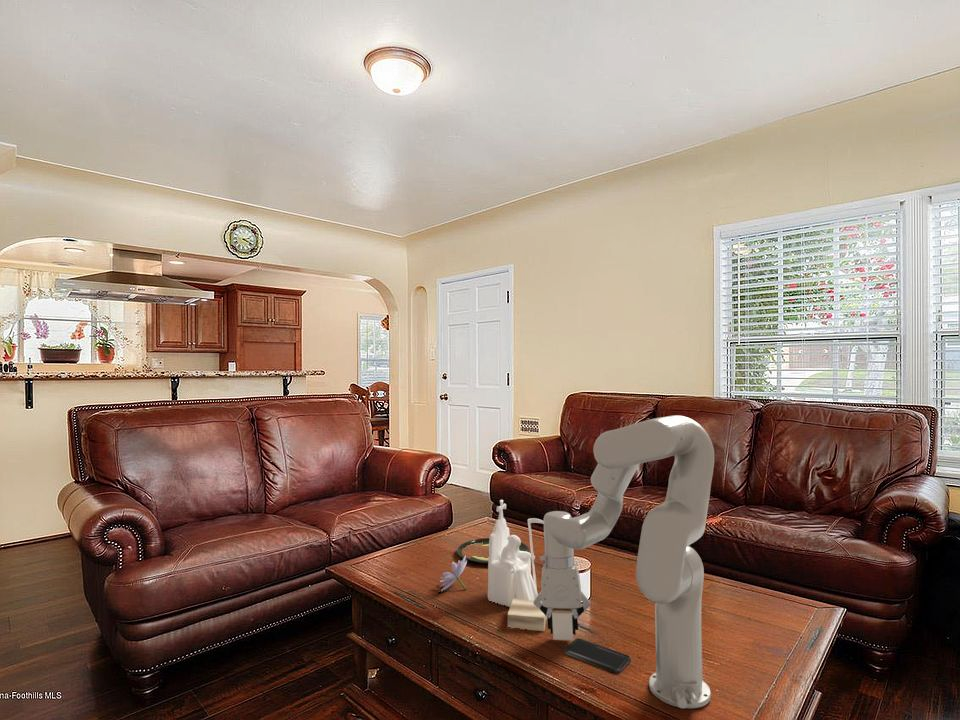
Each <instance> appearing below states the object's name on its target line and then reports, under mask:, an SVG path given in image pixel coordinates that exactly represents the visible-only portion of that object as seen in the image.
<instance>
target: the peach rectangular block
mask: <svg viewBox="0 0 960 720" xmlns="http://www.w3.org/2000/svg"><path fill="white" fill-rule="evenodd" d="M572 615H573V613H572V610H571V609H558V608H553V609H552V622H553V634H552V639H553V640H557V641H574V634H573V625H572Z"/></svg>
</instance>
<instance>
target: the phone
mask: <svg viewBox="0 0 960 720" xmlns="http://www.w3.org/2000/svg"><path fill="white" fill-rule="evenodd" d="M563 654H564V655H567V656H568V657H572V658H575V659H577V660H580V661H582V662H584V663H588V664H590V665H593V666H595V667H598V668H600V669H603V670H606V671H608V672H611V673H613V674H620V673H622V671H624V670H625V669H626V668H627V666H628V665H629V664H631V662H632V657H631V656H630V655H629V654H626V653H622V652H620V651H616V650H614V649H612V648H608V647H605V646H602V645H600V644H597V643H595V642H594V643H593V642H591V641H589V640H586V639H583V638H579V637H578V638H576V639H573V640H572V642H570V643H568V645H567V646H565V647H564V648H563Z"/></svg>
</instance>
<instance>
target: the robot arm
mask: <svg viewBox="0 0 960 720" xmlns="http://www.w3.org/2000/svg"><path fill="white" fill-rule="evenodd" d="M592 452H593V456H594V459H595V461H596V462H597V465H596V466H595V468H594V470H593V472H592V474H591V476H590V483H591V486H592V487H593V488H594V489H595V490H596V491H597V496H596V498H595V501H594V503H593V504H592V506H591V508H590V509H589V511H588V512H585V513H583V514H581V515H577V516H574V517H572V515H571V514H570V513H569V512H567V511H564V510H563V511H562V510H553V511H548V512H546V513H545V514H544V516H543V521H544V524H543V538H544V539H543V541H544V554H543V555H539V562H542V563H543V565H542V568H541V569H542V570H541V580H540V582H541V589H540V590H541V591H540V592H539V593H537V594H538V596H537V597H536V598H535V600H534V602H533V604H534V605H535V606H536V607H538V608H539V609H540V610H541V611H542V612H543V613H544V614H545V615H546V617H547V619H546V620H547V630H550V635H553V622H552V609H553V608H558V609H571V610H572V625H573V636H576V633H577V632H576V631H579V624H578V623H579V622H578V620H579V618H580V616H581V615H582V614H583V613H584V611H586V610H587V609H588V608H589V607H590V606H591V601H590V600H589V599H588V598H587V596H586V595H585V594H584V593H583V591H582V589H581V588H582V587H581V579H580V571H579V568H578V566H577V564H575V550H579V551H580V550H584V549H586V548H589V547H590V546H593V545H594V544H597V543H599V542H600V541H603V540H604V539H606V538H607V537H608V536H610V533H611V532H612V530H613V528H614V527H615V526H616V523H617V521H618V520H619V518H620V516H621V513H622V509H623V503H624V495H625V492H626V490H627V488H628V486H629V484H630V483H631V481H632V478H633V477H634V475H635V473H636V472H637V470H638V468H639V466H640V465H642V464H644V463H649V462H654V461H657V460H662V459H666V458H670V457H673V456H674V462H673V465H672V468H671V470H670V472H669V473H670V474H669V477H668V485H667V491H666V496H665V500H664V501H663V502H662V503H661V504H659V505H657V506H654V507H653V508H652V509H650V510H649V512H648V513H647V514H646V515H645V518H644V520H643V523H642V526H641V530H640V531H641V533H640V539H639V545H638V552H637V559H636V566H635V577H636V582H637V586H638V588H639V591H640V592H641V593H642V594H643V595H644V596H645V598H646V599H648V601H651V602H652V603H655V604H654V624H655V626H654V628H655V633H654V634H655V636H654V637H655V672H654V673H652V674H651V675H650V677H649V678H648V679H649V680H648V685H649V686H648V688H649V690H650V692H651V693H652V695H654V696H655V697H656V698H657V699H659V700H660V701H661V702H662V703H665V704H668V705H669V706H672V707H676V708H680V709H689V710H691V709H698V708H699V709H700V708H702V707H705V706H706V705H708V704H709V702H710V701H711V698H712V697H711V696H712V694H711V689H710V687H709V685H708V684H707V683H706V682H705V681H704V679H703V678H704V677H703V646H702V645H703V643H702V642H703V639H702V638H703V637H702V598H703V588H704V578H705V577H704V575H705V573H704V572H705V571H704V570H705V569H704V565H703V562H702V558H701V557H700V555H699V554H698V552H697V551H696V550H695V548H693V547H691V545H692V544H694V543H695V542H697V541H698V540H699V539H701V537H702V536H703V535H704V533H705V530H706V524H707V517H708V511H709V503H710V497H711V496H710V495H711V488H712V480H713V475H714V467H715V449H714V444H713V442H712V439H711V437H710V435H709V434H708V432H707V431H706V429H705V428H704V427H703V426H702V425H701V424H699V423H698V422H697V421H695V420H694V419H692V418H690V417H687V416H684V415H675V414H674V415H668V416H663V417H662V416H661V417H655V418H651V419H646V420H642V421H639V422H636V423H633V424H630V425H626V426H623V427H618V428H616V429H611V430H607V431H603V432H602V433H601V434H600V435H599V436H598V437H597V438H596V439H595V442H594V444H593V451H592ZM540 601H542V603H541V602H540Z"/></svg>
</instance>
